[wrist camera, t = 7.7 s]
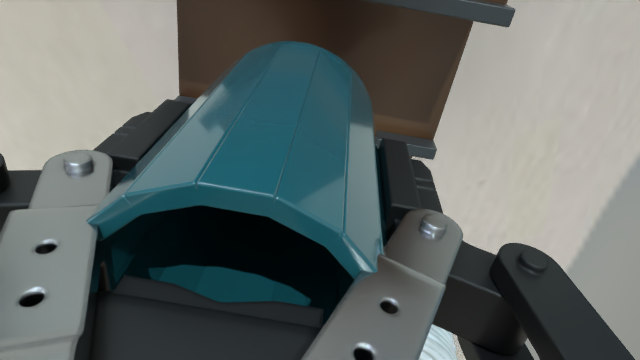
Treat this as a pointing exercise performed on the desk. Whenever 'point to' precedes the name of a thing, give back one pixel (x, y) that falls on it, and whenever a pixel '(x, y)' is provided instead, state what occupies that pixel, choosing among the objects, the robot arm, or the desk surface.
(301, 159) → the cup
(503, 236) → the desk surface
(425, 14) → the shelf rack
